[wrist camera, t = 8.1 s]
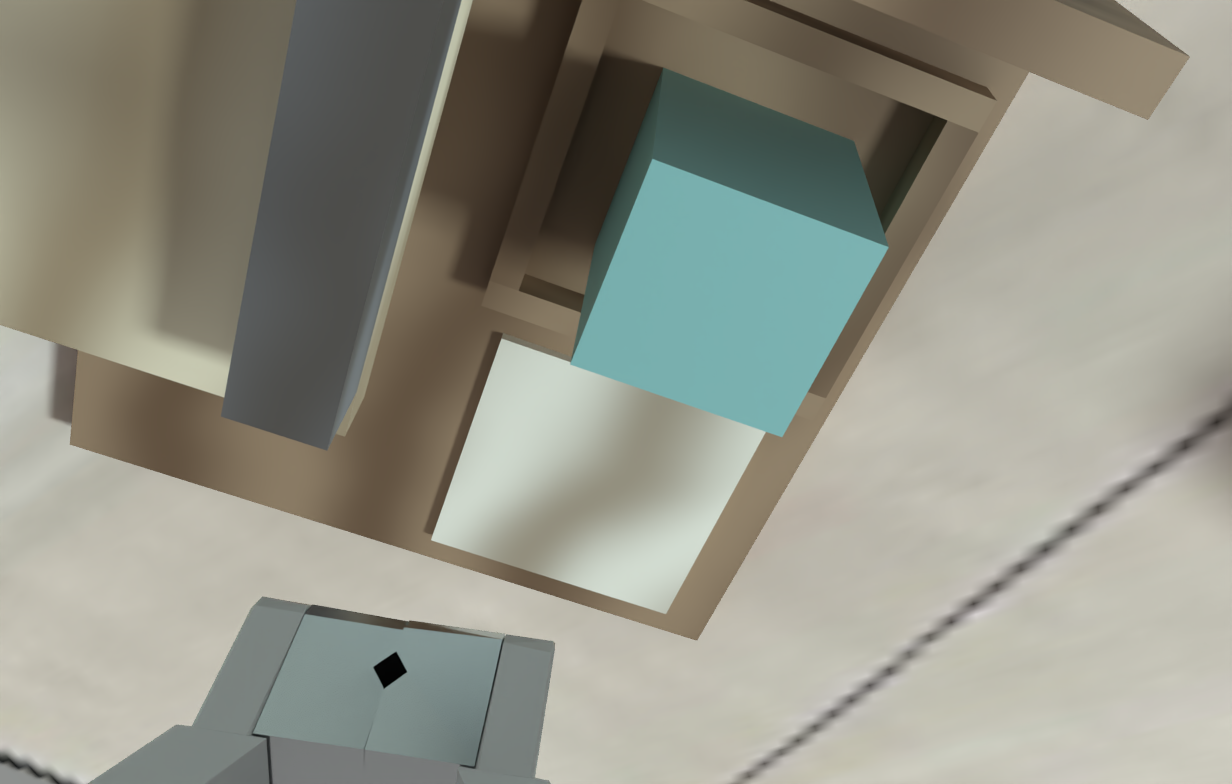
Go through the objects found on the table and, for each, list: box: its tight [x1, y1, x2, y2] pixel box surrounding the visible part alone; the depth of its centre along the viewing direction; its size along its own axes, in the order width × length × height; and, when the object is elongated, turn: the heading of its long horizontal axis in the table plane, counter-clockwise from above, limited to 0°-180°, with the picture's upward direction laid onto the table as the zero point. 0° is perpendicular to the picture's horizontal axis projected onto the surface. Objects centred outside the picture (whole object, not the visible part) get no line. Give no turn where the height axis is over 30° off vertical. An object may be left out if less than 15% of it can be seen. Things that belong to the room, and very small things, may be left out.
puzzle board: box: [70, 0, 1190, 640], centre depth 26 cm, size 21×24×7 cm
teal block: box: [570, 68, 889, 437], centre depth 25 cm, size 5×5×6 cm
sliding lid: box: [0, 0, 473, 451], centre depth 18 cm, size 11×12×4 cm
